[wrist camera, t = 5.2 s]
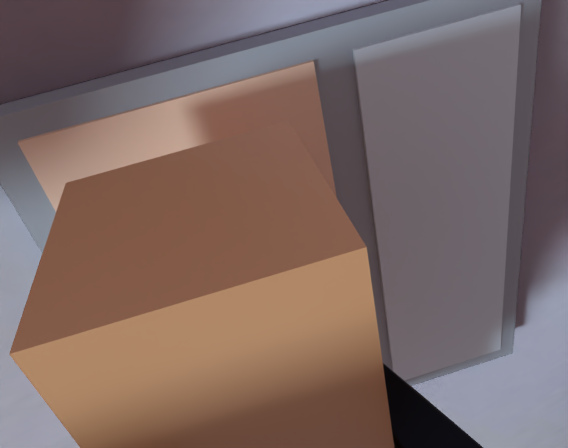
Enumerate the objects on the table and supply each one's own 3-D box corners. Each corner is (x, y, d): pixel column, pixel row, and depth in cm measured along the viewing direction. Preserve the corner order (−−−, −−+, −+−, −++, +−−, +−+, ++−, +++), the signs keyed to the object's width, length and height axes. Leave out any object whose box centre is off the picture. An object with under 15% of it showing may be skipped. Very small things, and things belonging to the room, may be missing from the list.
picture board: (519, -35, 10) (547, -31, 9) (498, 334, 16) (514, 355, 16) (-22, 109, 10) (-37, 127, 9) (169, 440, 16) (169, 466, 15)
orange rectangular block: (289, 120, 8) (367, 247, 5) (361, 465, 14) (418, 621, 11) (65, 183, 8) (9, 355, 5) (233, 507, 13) (255, 678, 10)
